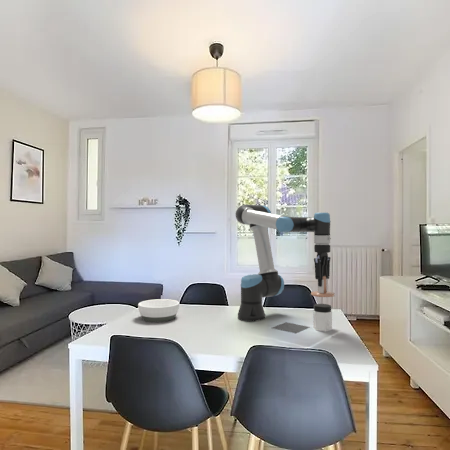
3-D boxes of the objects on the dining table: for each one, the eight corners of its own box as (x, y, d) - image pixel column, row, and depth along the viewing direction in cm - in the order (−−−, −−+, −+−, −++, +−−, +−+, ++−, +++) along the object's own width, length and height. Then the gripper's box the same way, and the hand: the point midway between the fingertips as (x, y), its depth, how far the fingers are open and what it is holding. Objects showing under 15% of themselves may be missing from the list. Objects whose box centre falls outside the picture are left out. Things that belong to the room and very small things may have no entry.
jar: (322, 333, 169) (322, 308, 169) (309, 329, 176) (309, 304, 176) (335, 330, 174) (335, 305, 174) (322, 326, 181) (322, 302, 181)
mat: (270, 329, 177) (270, 327, 177) (285, 323, 187) (285, 322, 187) (296, 334, 167) (296, 333, 167) (310, 328, 178) (310, 327, 178)
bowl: (129, 321, 192) (129, 305, 192) (153, 312, 213) (153, 297, 213) (165, 325, 184) (165, 308, 184) (186, 315, 205) (186, 300, 205)
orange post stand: (307, 295, 174) (307, 276, 174) (317, 292, 183) (317, 274, 183) (328, 298, 167) (328, 278, 167) (338, 294, 175) (338, 276, 176)
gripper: (322, 245, 167) (322, 295, 166) (336, 243, 179) (337, 291, 179) (307, 244, 172) (307, 293, 171) (322, 243, 184) (322, 289, 183)
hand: (322, 292), depth 175 cm, fingers closed on orange post stand, 3 cm apart
